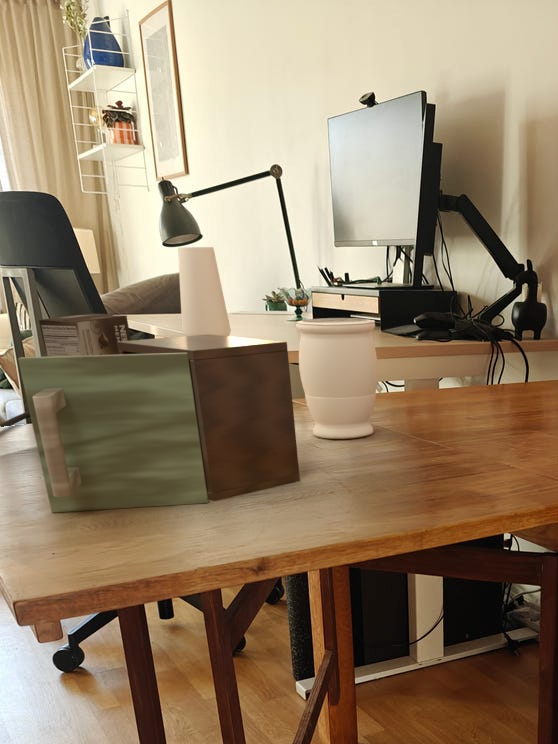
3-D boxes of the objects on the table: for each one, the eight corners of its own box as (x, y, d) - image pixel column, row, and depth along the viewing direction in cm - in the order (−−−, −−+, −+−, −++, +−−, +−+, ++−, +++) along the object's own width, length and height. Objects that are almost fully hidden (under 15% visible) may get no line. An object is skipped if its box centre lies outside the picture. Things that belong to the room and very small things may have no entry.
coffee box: (111, 436, 120) (89, 313, 113) (150, 439, 118) (129, 314, 111) (63, 450, 112) (35, 318, 106) (103, 453, 110) (77, 319, 104)
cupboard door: (204, 517, 83) (182, 359, 77) (38, 528, 80) (1, 364, 74) (208, 501, 88) (187, 352, 82) (53, 510, 85) (20, 357, 79)
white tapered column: (194, 427, 126) (168, 247, 116) (196, 419, 132) (172, 247, 122) (241, 425, 128) (220, 247, 118) (241, 417, 134) (221, 247, 124)
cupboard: (214, 502, 88) (193, 350, 82) (140, 479, 97) (116, 341, 91) (300, 482, 96) (287, 341, 90) (224, 463, 105) (207, 334, 99)
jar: (396, 431, 122) (391, 319, 116) (347, 444, 114) (338, 324, 108) (339, 424, 127) (331, 316, 121) (289, 436, 119) (278, 321, 113)
